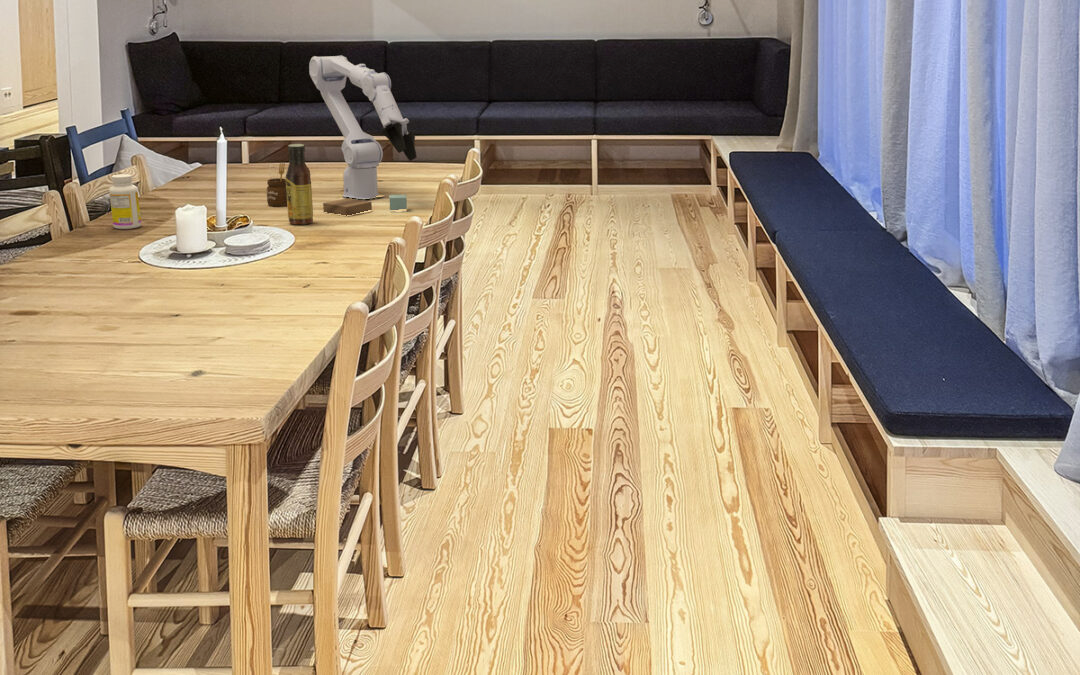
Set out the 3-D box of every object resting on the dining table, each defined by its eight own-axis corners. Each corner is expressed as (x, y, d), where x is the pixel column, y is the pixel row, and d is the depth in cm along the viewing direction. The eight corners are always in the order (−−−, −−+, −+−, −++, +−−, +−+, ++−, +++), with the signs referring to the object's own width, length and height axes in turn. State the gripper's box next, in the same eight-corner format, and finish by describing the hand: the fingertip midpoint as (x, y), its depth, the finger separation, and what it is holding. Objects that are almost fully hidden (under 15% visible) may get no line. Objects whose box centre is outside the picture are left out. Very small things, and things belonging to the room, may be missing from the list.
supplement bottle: (130, 223, 280) (125, 172, 277) (147, 226, 277) (142, 175, 273) (107, 227, 275) (101, 175, 271) (124, 230, 272) (118, 178, 268)
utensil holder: (281, 202, 309) (279, 159, 306) (294, 205, 305) (291, 161, 302) (263, 205, 305) (260, 161, 302) (275, 208, 301) (272, 163, 298)
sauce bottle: (290, 220, 284) (285, 142, 278) (314, 220, 285) (310, 142, 279) (286, 226, 278) (281, 146, 272) (312, 225, 279) (307, 146, 273)
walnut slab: (323, 214, 296) (323, 203, 295) (348, 209, 303) (348, 198, 302) (347, 218, 290) (346, 206, 290) (371, 213, 297) (371, 202, 296)
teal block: (390, 212, 296) (389, 197, 295) (390, 209, 301) (389, 194, 299) (407, 212, 297) (406, 197, 296) (406, 209, 301) (406, 194, 300)
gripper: (390, 96, 292) (410, 139, 289) (411, 113, 306) (430, 155, 303) (367, 109, 293) (387, 152, 290) (389, 126, 307) (408, 167, 304)
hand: (407, 155), depth 296 cm, fingers open, 7 cm apart
